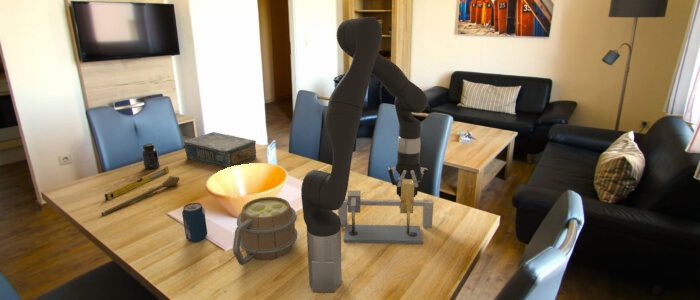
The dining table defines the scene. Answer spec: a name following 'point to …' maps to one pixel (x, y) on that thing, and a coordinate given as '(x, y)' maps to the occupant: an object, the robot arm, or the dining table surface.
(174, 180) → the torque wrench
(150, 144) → the supplement bottle
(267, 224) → the mug
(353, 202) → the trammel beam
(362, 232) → the flange plate
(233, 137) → the metal box
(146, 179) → the spirit level
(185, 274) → the dining table surface
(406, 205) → the slide head
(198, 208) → the soda can
